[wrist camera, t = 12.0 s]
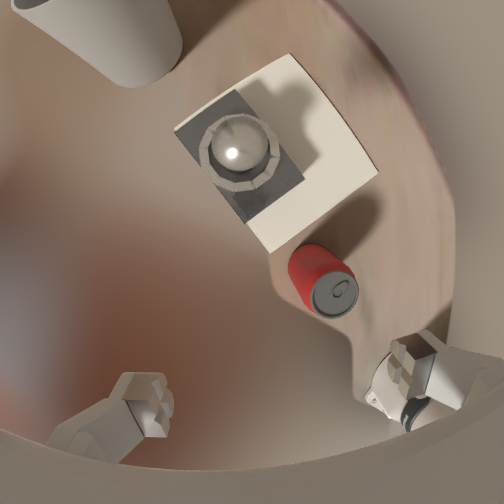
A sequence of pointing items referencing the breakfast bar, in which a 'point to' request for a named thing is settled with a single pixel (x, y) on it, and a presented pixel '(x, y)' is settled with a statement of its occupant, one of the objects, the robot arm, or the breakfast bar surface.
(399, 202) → the breakfast bar surface
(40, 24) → the cylinder vase
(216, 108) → the camera body
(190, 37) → the breakfast bar surface
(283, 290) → the breakfast bar surface
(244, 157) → the lens
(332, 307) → the beer can
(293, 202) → the mat
